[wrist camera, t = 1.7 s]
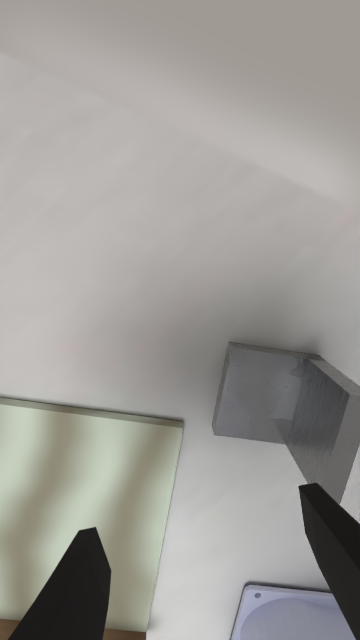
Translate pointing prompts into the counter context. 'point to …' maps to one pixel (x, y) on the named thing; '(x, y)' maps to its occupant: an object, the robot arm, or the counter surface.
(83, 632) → the robot arm
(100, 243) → the counter surface
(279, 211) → the counter surface
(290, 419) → the bracket
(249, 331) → the counter surface
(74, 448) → the arena
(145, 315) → the counter surface
